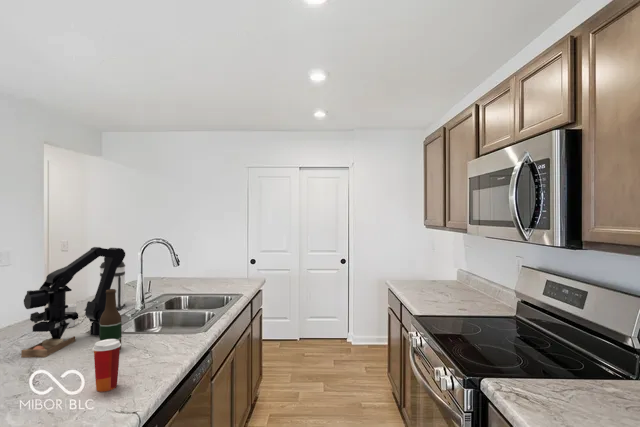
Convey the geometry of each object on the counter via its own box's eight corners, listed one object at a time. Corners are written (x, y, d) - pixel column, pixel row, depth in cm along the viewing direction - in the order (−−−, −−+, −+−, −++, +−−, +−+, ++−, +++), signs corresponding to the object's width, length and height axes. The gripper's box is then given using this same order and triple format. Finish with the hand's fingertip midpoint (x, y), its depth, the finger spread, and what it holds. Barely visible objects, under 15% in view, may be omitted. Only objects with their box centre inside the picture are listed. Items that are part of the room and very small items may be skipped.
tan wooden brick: (63, 346, 148) (63, 338, 148) (59, 348, 146) (59, 340, 146) (46, 346, 148) (46, 339, 148) (42, 348, 145) (42, 341, 145)
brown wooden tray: (75, 343, 154) (75, 335, 154) (45, 359, 137) (45, 350, 137) (54, 343, 154) (54, 335, 154) (21, 360, 137) (21, 350, 137)
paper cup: (114, 379, 121) (115, 336, 121) (125, 386, 116) (125, 341, 116) (87, 388, 115) (88, 342, 115) (97, 396, 110) (97, 348, 110)
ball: (37, 350, 138) (40, 359, 139) (46, 343, 141) (48, 351, 143) (27, 350, 138) (30, 359, 139) (36, 343, 142) (39, 351, 143)
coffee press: (134, 307, 215) (134, 255, 215) (106, 313, 202) (106, 258, 202) (117, 303, 224) (117, 253, 225) (89, 309, 211) (90, 256, 211)
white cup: (59, 330, 172) (60, 308, 173) (53, 327, 177) (53, 306, 177) (78, 326, 179) (79, 305, 179) (72, 323, 184) (72, 303, 184)
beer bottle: (96, 355, 142) (96, 292, 142) (102, 348, 150) (102, 288, 150) (118, 353, 144) (119, 291, 144) (123, 346, 152) (124, 287, 152)
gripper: (52, 298, 159) (52, 335, 159) (18, 309, 140) (17, 351, 140) (79, 298, 159) (78, 335, 159) (48, 309, 140) (47, 351, 140)
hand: (56, 342), depth 149 cm, fingers closed
